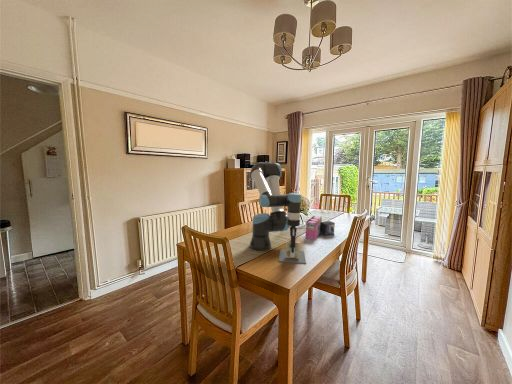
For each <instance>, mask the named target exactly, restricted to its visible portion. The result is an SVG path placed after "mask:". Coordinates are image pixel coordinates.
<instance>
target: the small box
mask: <svg viewBox="0 0 512 384" xmlns="http://www.w3.org/2000/svg"><path fill="white" fill-rule="evenodd" d="M319 235H321V236H324V237H327V236H333V235H335V222H333V221H331V220H328V221H327V220H326V221H322V222H321V225H320V234H319Z"/></svg>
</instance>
